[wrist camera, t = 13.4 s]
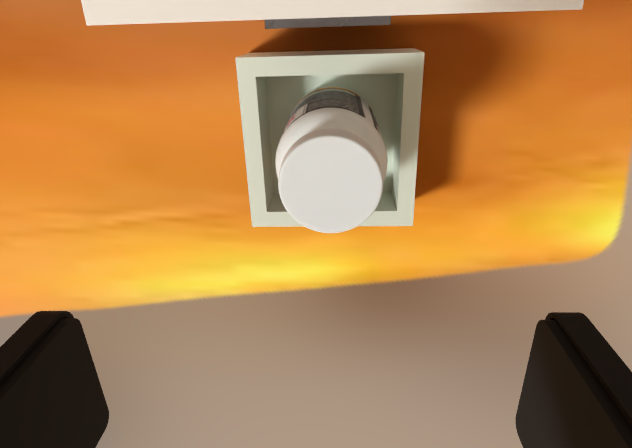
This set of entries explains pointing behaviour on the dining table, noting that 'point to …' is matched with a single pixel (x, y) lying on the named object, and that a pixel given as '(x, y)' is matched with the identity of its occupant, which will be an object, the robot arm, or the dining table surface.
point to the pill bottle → (331, 161)
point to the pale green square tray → (331, 71)
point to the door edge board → (298, 10)
